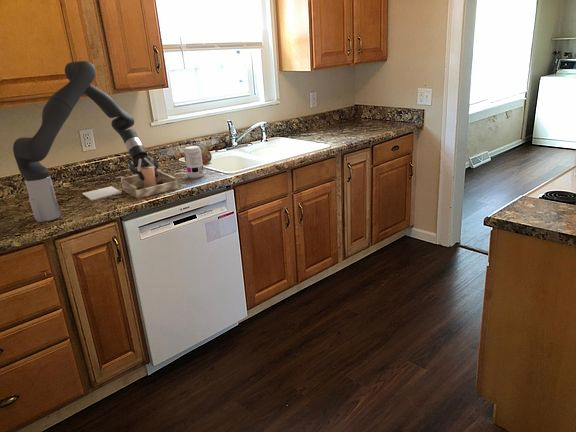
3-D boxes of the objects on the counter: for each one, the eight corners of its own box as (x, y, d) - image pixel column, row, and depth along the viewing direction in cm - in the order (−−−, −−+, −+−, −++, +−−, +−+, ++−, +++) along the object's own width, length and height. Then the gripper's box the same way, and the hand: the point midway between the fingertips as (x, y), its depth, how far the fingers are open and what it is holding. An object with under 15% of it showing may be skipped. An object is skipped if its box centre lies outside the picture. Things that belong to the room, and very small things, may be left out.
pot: (146, 188, 210) (142, 169, 206) (141, 185, 214) (138, 167, 211) (158, 185, 213) (155, 167, 209) (154, 183, 217) (151, 164, 214)
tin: (185, 166, 252) (183, 152, 249) (185, 165, 255) (183, 150, 252) (212, 163, 256) (210, 148, 253) (211, 162, 258) (210, 147, 255)
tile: (91, 200, 204) (91, 199, 204) (82, 194, 214) (82, 193, 214) (122, 193, 212) (121, 192, 212) (111, 187, 222) (111, 186, 222)
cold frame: (137, 198, 203) (135, 185, 201) (123, 190, 216) (120, 178, 214) (178, 188, 214) (176, 175, 212) (162, 180, 228) (160, 169, 225)
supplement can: (185, 178, 230) (180, 149, 224) (192, 173, 237) (188, 145, 232) (199, 178, 227) (195, 149, 222) (206, 173, 235) (203, 145, 229)
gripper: (122, 147, 208) (136, 176, 204) (151, 142, 217) (166, 170, 212) (120, 156, 214) (134, 185, 210) (149, 151, 222) (163, 179, 218)
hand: (150, 177), depth 211 cm, fingers closed on pot, 6 cm apart
